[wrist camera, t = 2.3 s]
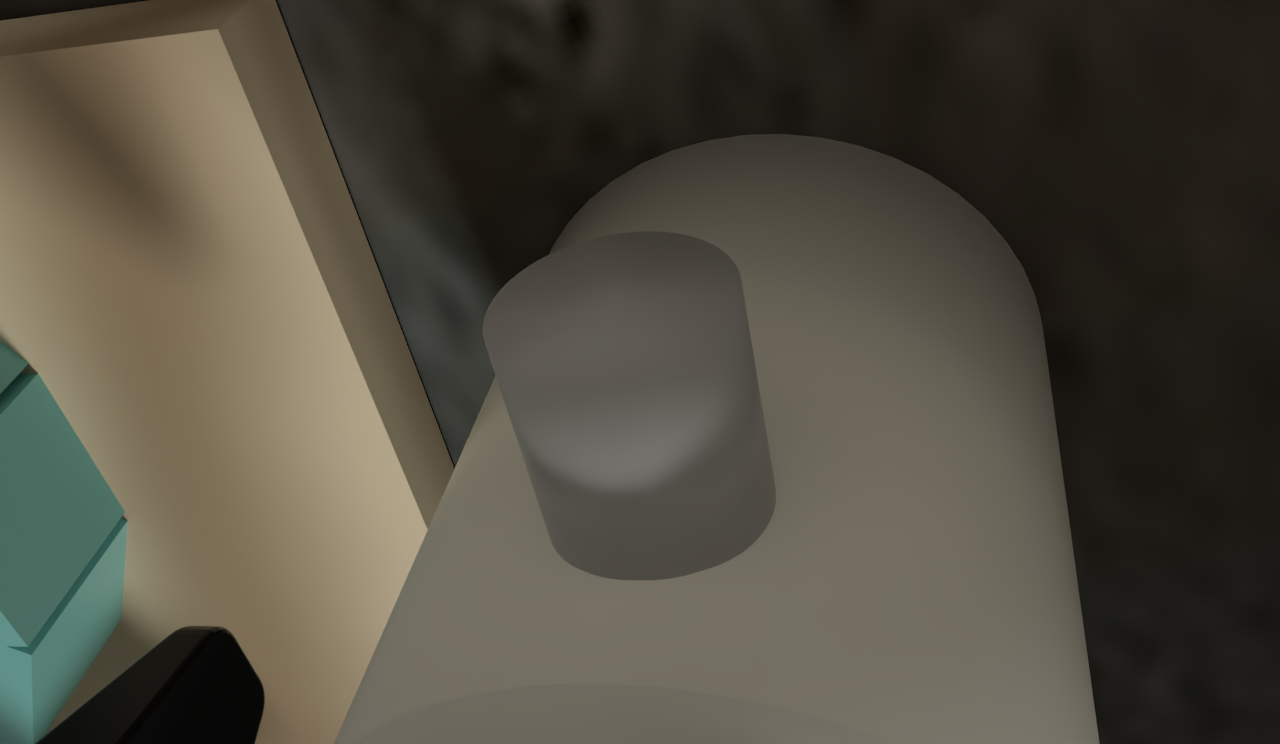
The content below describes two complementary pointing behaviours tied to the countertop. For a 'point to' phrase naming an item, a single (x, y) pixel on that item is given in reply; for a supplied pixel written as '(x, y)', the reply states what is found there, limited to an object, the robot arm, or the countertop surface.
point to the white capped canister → (751, 479)
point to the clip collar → (50, 556)
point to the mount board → (215, 340)
